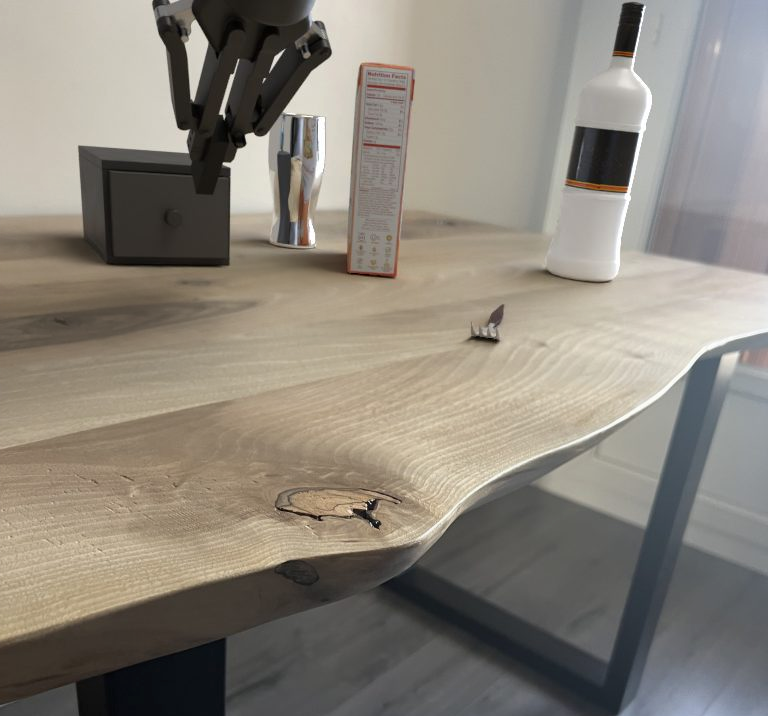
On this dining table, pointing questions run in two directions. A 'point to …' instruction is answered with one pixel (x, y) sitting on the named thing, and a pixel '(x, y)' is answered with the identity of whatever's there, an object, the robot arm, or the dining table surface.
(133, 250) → the grey knobbed drawer
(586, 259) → the vodka
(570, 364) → the dining table surface
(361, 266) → the cracker box
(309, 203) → the beer glass
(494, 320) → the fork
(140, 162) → the small drawer box
